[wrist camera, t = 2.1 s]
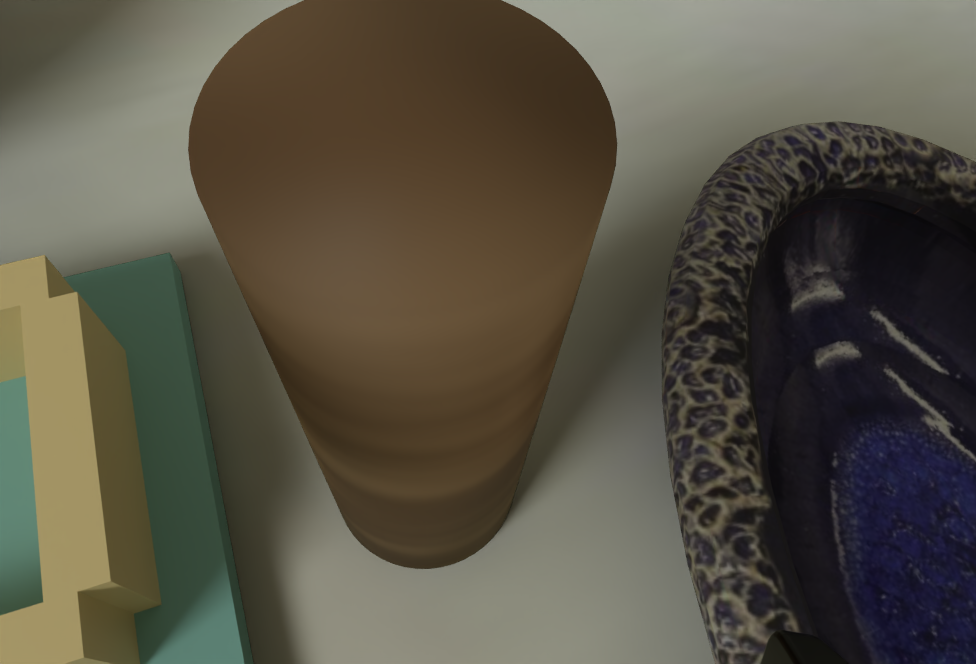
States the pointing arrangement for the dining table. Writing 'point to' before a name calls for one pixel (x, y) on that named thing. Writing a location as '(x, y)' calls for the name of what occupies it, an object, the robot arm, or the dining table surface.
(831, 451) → the dish
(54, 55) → the dining table surface
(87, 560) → the carrier plate
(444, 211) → the walnut dowel
